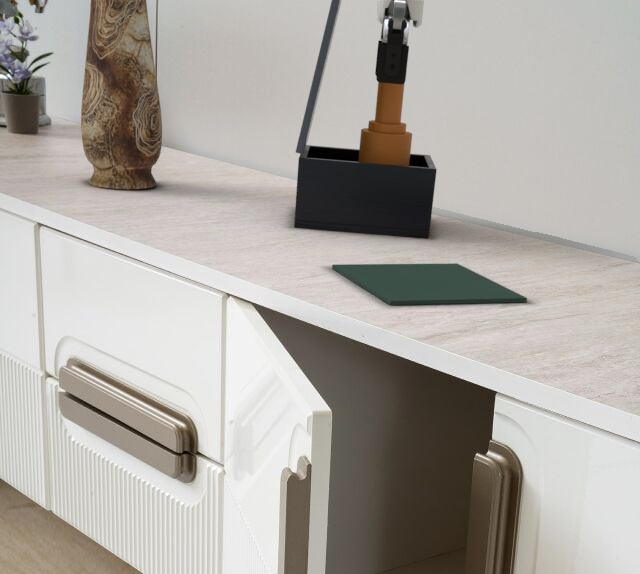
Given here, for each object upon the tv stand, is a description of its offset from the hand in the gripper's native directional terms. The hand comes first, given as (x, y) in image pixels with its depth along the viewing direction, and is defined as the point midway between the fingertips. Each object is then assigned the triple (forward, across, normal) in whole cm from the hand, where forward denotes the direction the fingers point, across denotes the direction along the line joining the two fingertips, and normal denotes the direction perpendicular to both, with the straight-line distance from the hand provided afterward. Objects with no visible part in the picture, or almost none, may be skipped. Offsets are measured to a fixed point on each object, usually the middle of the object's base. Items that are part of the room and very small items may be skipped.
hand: (389, 80), depth 129 cm
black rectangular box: (+16, 0, +2) cm, 17 cm away
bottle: (+16, 0, 0) cm, 16 cm away
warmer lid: (0, 0, +8) cm, 8 cm away
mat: (+16, -30, -5) cm, 35 cm away
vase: (+17, +14, +33) cm, 40 cm away
